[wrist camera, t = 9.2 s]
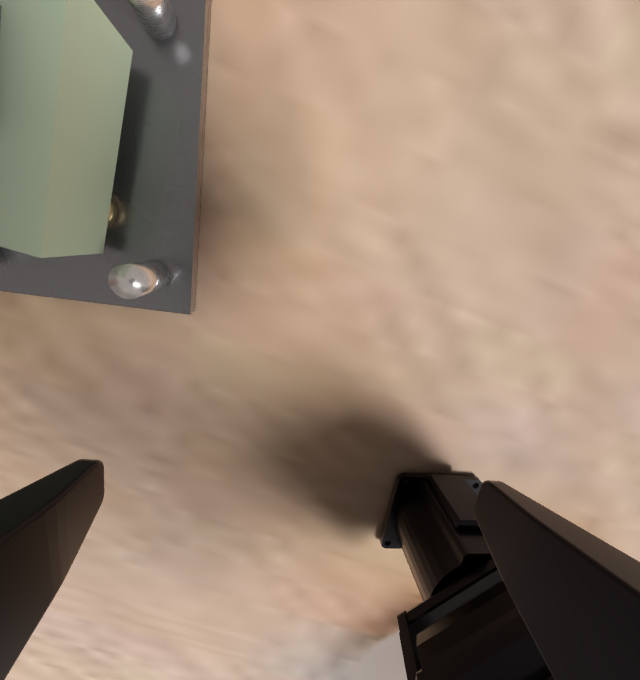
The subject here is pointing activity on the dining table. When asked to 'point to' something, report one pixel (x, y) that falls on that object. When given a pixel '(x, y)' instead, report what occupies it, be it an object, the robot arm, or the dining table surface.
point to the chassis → (144, 172)
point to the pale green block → (59, 124)
